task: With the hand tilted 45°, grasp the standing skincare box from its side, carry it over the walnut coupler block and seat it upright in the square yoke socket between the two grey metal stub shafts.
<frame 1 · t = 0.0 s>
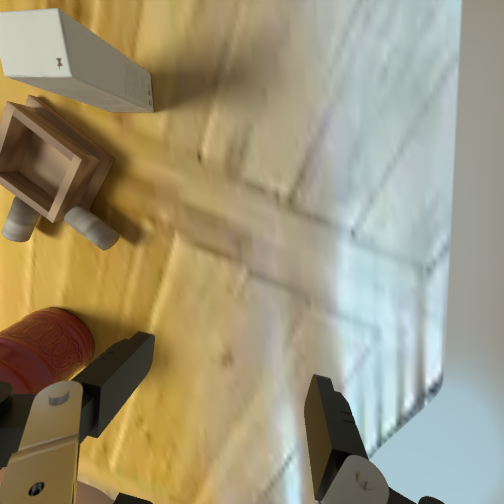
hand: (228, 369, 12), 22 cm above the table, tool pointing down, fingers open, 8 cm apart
canister: (64, 335, 44), on the table
skincare box: (130, 93, 29), on the table
coupler block: (60, 167, 33), on the table
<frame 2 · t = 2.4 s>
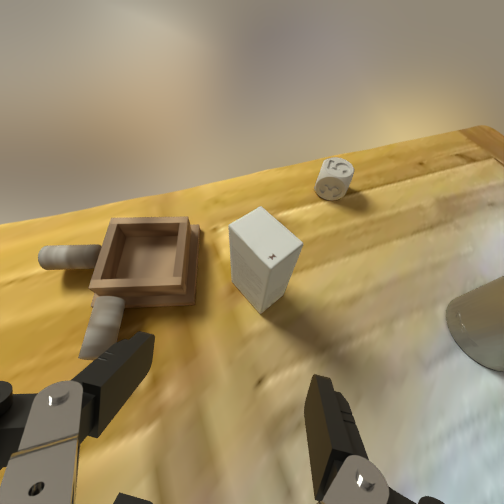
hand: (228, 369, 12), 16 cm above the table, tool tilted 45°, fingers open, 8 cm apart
die: (328, 191, 42), on the table
skincare box: (256, 288, 32), on the table
coupler block: (153, 264, 33), on the table
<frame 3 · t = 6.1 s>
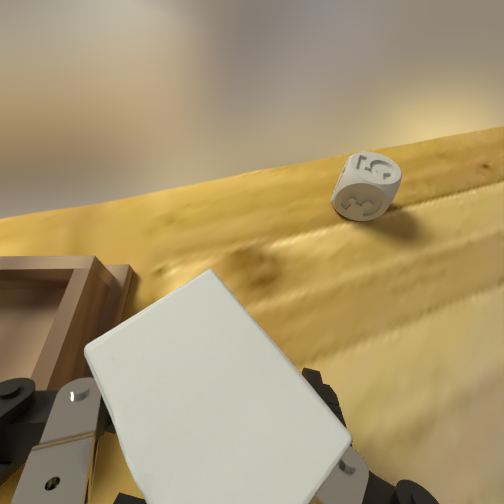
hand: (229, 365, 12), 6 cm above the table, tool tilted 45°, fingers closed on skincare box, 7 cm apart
die: (352, 205, 27), on the table
skincare box: (225, 401, 16), on the table, touching gripper
coupler block: (26, 346, 17), on the table
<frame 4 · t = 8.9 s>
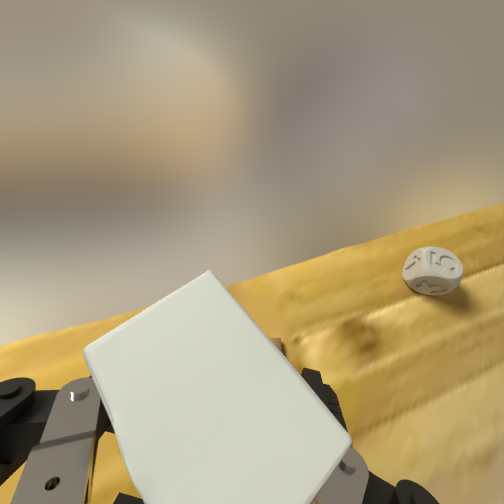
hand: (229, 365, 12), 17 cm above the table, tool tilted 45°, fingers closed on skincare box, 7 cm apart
die: (418, 279, 36), on the table
skincare box: (225, 402, 16), point 12 cm above the table, touching gripper
when the fingers open (8 cm above the table, at t = 11.8 s): skincare box drops 1 cm, resting on coupler block.
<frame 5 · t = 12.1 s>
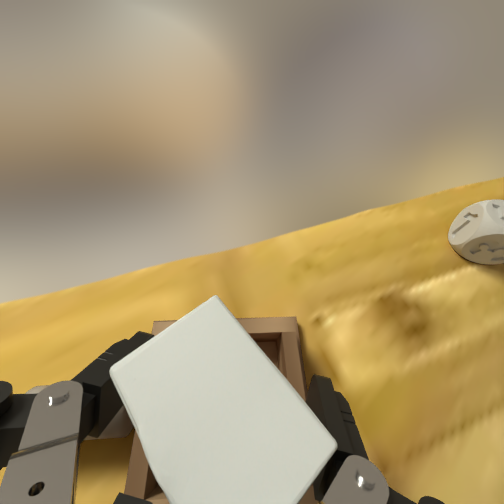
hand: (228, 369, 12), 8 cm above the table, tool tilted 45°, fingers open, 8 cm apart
die: (468, 246, 28), on the table
skincare box: (228, 407, 17), point 1 cm above the table, touching coupler block
coupler block: (226, 402, 18), on the table
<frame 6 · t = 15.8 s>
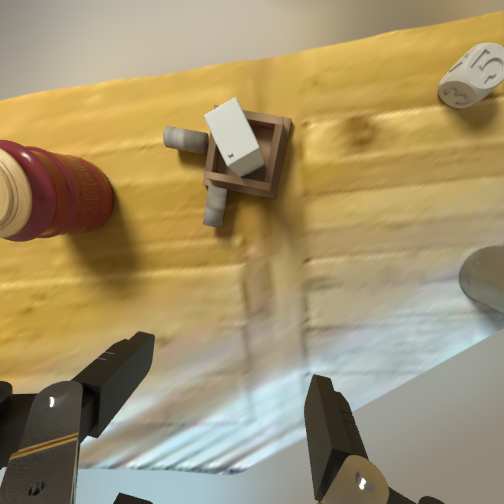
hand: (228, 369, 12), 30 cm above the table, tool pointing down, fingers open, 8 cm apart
die: (456, 87, 34), on the table
canister: (82, 196, 43), on the table
skincare box: (246, 155, 38), point 1 cm above the table, touching coupler block
coupler block: (246, 154, 38), on the table
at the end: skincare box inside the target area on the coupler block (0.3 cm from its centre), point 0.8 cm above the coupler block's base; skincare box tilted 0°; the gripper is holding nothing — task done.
